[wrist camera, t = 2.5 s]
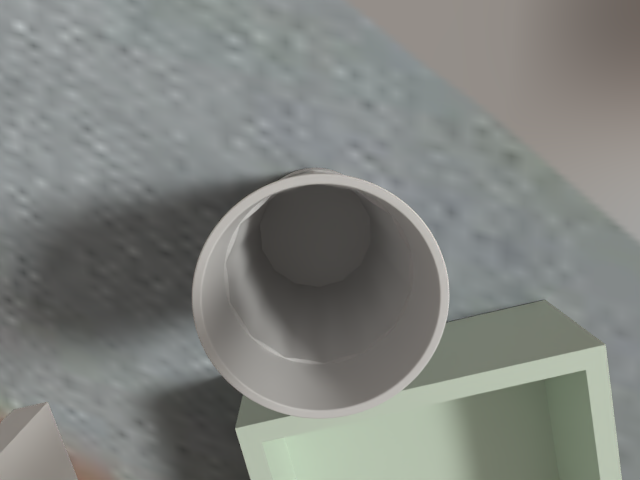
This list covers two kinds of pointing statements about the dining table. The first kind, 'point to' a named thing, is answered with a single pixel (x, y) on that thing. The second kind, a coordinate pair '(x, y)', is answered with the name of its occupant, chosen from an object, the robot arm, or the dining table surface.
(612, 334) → the dining table surface
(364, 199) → the cup
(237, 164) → the dining table surface
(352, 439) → the tote
